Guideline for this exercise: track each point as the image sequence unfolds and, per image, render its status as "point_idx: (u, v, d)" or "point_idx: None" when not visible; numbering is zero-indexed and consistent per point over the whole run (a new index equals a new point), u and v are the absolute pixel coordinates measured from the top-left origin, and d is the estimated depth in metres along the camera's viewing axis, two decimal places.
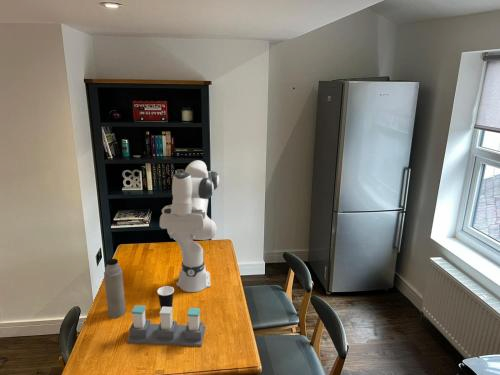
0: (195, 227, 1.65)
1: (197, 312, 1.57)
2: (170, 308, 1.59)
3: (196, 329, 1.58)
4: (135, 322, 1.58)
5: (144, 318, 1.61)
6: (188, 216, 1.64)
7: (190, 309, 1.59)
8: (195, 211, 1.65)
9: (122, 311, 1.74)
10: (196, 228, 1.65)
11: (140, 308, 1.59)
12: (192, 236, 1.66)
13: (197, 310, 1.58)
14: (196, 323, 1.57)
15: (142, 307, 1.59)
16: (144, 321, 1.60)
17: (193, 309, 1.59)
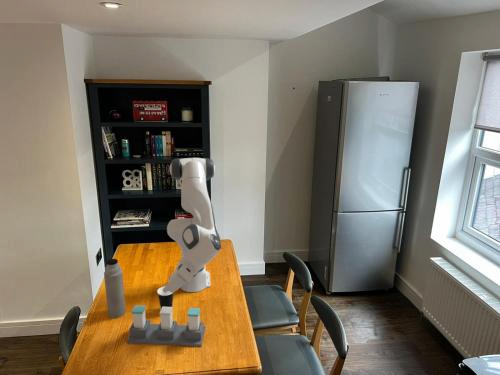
0: None
1: (197, 312, 1.57)
2: (170, 308, 1.59)
3: (196, 329, 1.58)
4: (135, 322, 1.58)
5: (144, 318, 1.61)
6: None
7: (190, 309, 1.59)
8: None
9: (122, 311, 1.74)
10: None
11: (140, 308, 1.59)
12: None
13: (197, 310, 1.58)
14: (196, 323, 1.57)
15: (142, 307, 1.59)
16: (144, 321, 1.60)
17: (193, 309, 1.59)
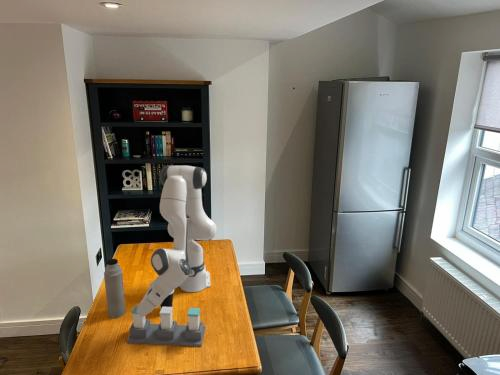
0: None
1: (197, 312, 1.57)
2: (170, 308, 1.59)
3: (196, 329, 1.58)
4: (135, 322, 1.58)
5: (144, 318, 1.61)
6: None
7: (190, 309, 1.59)
8: None
9: (122, 311, 1.74)
10: None
11: None
12: None
13: (197, 310, 1.58)
14: (196, 323, 1.57)
15: None
16: (144, 321, 1.60)
17: (193, 309, 1.59)
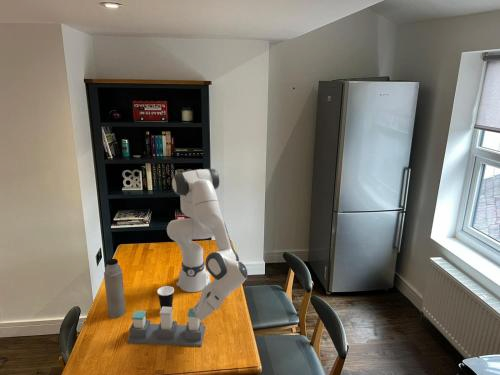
0: None
1: None
2: (170, 308, 1.59)
3: (196, 330, 1.58)
4: (135, 327, 1.59)
5: (144, 323, 1.61)
6: None
7: (190, 310, 1.59)
8: None
9: (122, 311, 1.74)
10: None
11: (140, 314, 1.59)
12: None
13: None
14: (196, 324, 1.57)
15: (142, 313, 1.60)
16: None
17: None
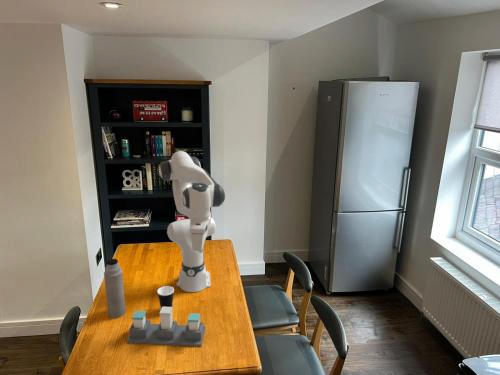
0: (207, 233, 1.64)
1: (197, 318, 1.58)
2: (170, 308, 1.59)
3: None
4: (135, 327, 1.59)
5: (144, 323, 1.61)
6: None
7: (190, 315, 1.60)
8: None
9: (122, 311, 1.74)
10: (207, 233, 1.64)
11: (140, 314, 1.59)
12: (203, 247, 1.60)
13: (197, 316, 1.59)
14: (196, 329, 1.58)
15: (142, 313, 1.60)
16: None
17: (193, 315, 1.60)
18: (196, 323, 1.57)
